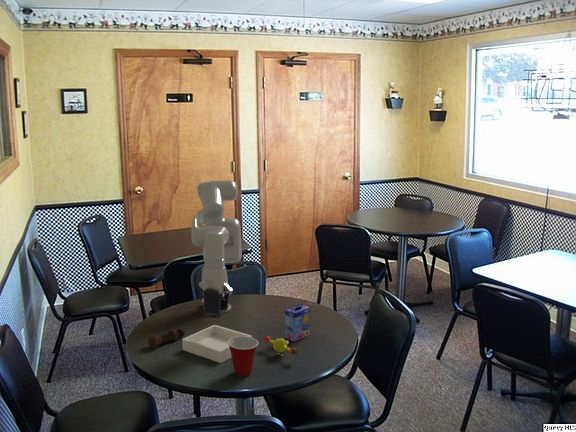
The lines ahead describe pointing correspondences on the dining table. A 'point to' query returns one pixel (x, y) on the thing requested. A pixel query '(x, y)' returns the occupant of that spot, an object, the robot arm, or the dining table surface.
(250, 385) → the dining table surface
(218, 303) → the small box
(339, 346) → the dining table surface
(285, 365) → the dining table surface
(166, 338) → the bolt
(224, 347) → the tray
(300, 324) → the ink cartridge box
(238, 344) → the plastic cup
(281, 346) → the toy figure
